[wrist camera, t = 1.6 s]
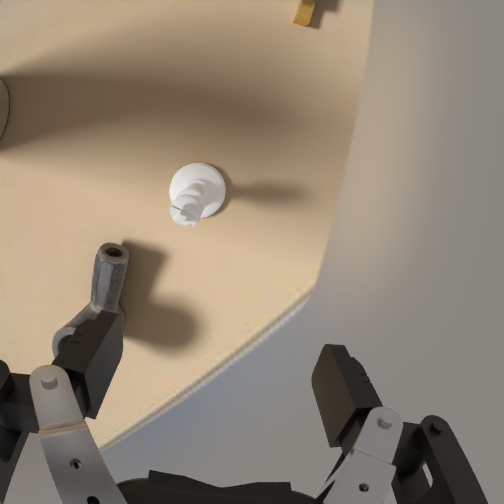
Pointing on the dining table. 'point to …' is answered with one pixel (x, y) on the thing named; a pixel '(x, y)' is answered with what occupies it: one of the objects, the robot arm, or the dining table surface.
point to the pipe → (100, 290)
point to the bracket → (304, 12)
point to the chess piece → (196, 193)
